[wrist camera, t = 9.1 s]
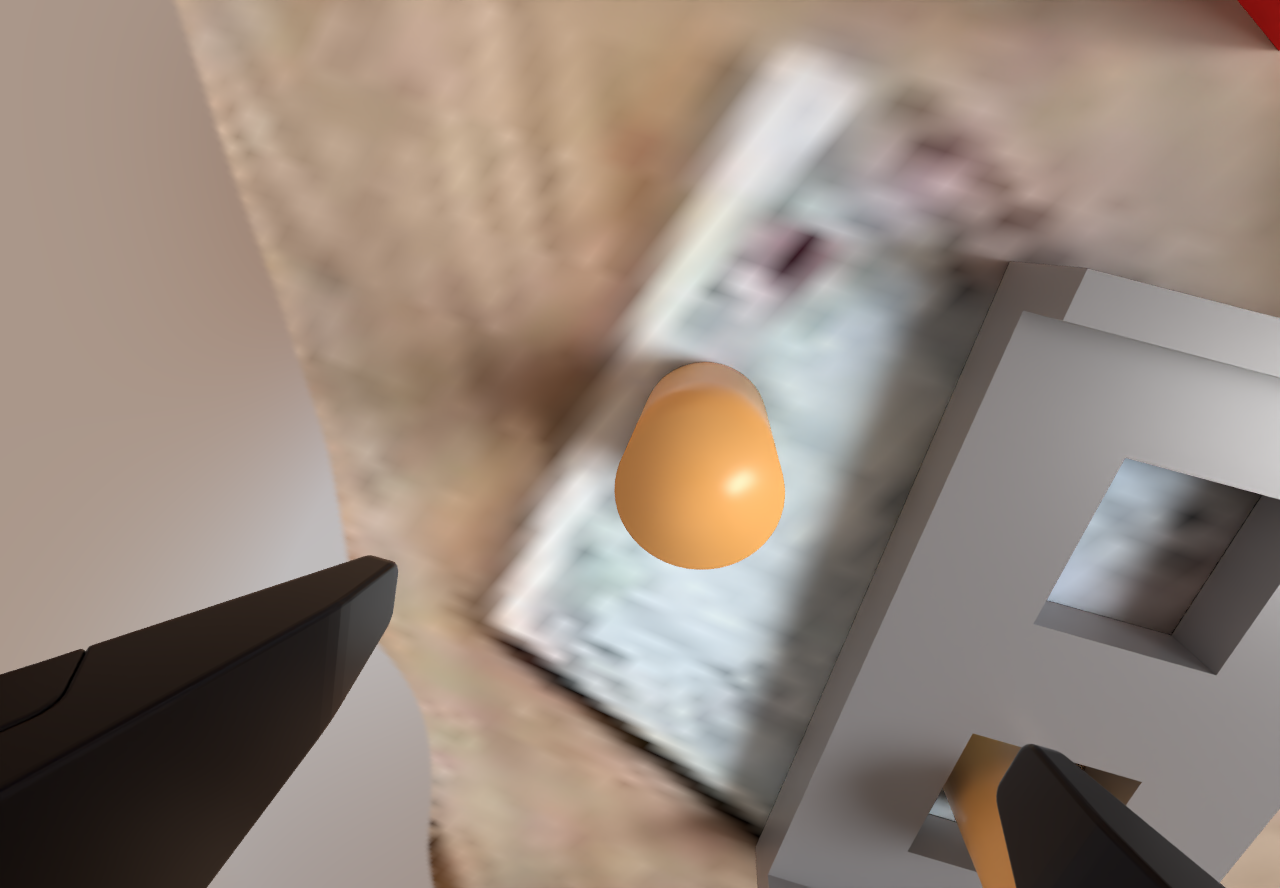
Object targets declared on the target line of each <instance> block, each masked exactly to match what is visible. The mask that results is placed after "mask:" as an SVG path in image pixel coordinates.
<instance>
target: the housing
mask: <svg viewBox="0 0 1280 888" xmlns="http://www.w3.org/2000/svg"><path fill="white" fill-rule="evenodd" d="M1125 458H1128V459H1132V460H1135V461H1139V462H1143V463H1146V464H1150V465H1154V466H1158V467H1161V468H1165V469H1169V470H1172V471H1176V472H1180V473H1184V474H1187V475H1191V476H1195V477H1198V478H1202V479H1206V480H1209V481H1213V482H1217V483H1221V484H1224V485H1228V486H1232V487H1235V488H1239V489H1243V490H1247V491H1250V492H1254V493H1258V494H1261V495H1262V496H1261V498H1260V499H1259V501H1258V502H1257V504H1256V506H1255V507H1254V509H1253V510H1252V512H1251V513H1250V515H1249V516H1248V518H1247V519H1246V521H1245V523H1244V524H1243V526H1242V527H1241V529H1240V530H1239V532H1238V533H1237V535H1236V536H1235V538H1234V539H1233V541H1232V543H1231V544H1230V546H1229V547H1228V549H1227V550H1226V552H1225V553H1224V555H1223V556H1222V558H1221V560H1220V561H1219V563H1218V564H1217V566H1216V567H1215V569H1214V570H1213V572H1212V573H1211V575H1210V577H1209V578H1208V580H1207V581H1206V583H1205V584H1204V586H1203V587H1202V589H1201V590H1200V592H1199V593H1198V595H1197V597H1196V598H1195V600H1194V601H1193V603H1192V604H1191V606H1190V607H1189V609H1188V610H1187V612H1186V614H1185V615H1184V617H1183V618H1182V620H1181V621H1180V623H1179V624H1178V626H1177V627H1176V629H1175V630H1174V632H1173V634H1172V635H1168V634H1165V633H1161V632H1157V631H1154V630H1150V629H1147V628H1143V627H1139V626H1136V625H1132V624H1129V623H1125V622H1121V621H1118V620H1114V619H1111V618H1107V617H1104V616H1100V615H1096V614H1093V613H1089V612H1086V611H1082V610H1078V609H1075V608H1071V607H1068V606H1064V605H1061V604H1057V603H1053V602H1050V601H1046V600H1047V598H1048V597H1049V595H1050V593H1051V591H1052V589H1053V588H1054V586H1055V584H1056V582H1057V580H1058V579H1059V577H1060V575H1061V573H1062V571H1063V569H1064V568H1065V566H1066V564H1067V562H1068V560H1069V559H1070V557H1071V555H1072V553H1073V551H1074V550H1075V548H1076V546H1077V544H1078V542H1079V541H1080V539H1081V537H1082V535H1083V533H1084V531H1085V530H1086V528H1087V526H1088V524H1089V522H1090V521H1091V519H1092V517H1093V515H1094V513H1095V512H1096V510H1097V508H1098V506H1099V504H1100V503H1101V501H1102V499H1103V497H1104V495H1105V494H1106V492H1107V490H1108V488H1109V486H1110V484H1111V483H1112V481H1113V479H1114V477H1115V475H1116V474H1117V472H1118V470H1119V468H1120V466H1121V465H1122V463H1123V461H1124V459H1125ZM972 734H977V735H980V736H984V737H987V738H991V739H994V740H998V741H1001V742H1005V743H1008V744H1012V745H1015V746H1019V747H1023V746H1025V745H1026V744H1036V745H1039V746H1043V747H1046V748H1050V749H1053V750H1057V751H1059V752H1061V753H1062V754H1064V755H1065V756H1066V757H1068V758H1069V759H1070V760H1071V761H1072V762H1074V763H1078V764H1081V765H1085V766H1086V768H1085V769H1084V771H1085V772H1086V773H1087V774H1088V775H1089V776H1091V777H1092V778H1093V779H1094V780H1095V781H1097V782H1098V783H1099V784H1100V785H1102V786H1103V787H1104V788H1105V789H1106V790H1108V791H1109V792H1110V793H1111V794H1112V795H1114V796H1115V797H1116V798H1117V799H1119V800H1120V801H1121V802H1122V803H1123V804H1125V805H1126V806H1127V807H1128V808H1129V809H1131V810H1132V811H1133V812H1134V813H1135V814H1137V815H1138V816H1139V817H1140V818H1142V819H1143V820H1144V821H1145V822H1146V823H1148V824H1149V825H1150V826H1151V827H1152V828H1154V829H1155V830H1156V831H1157V832H1159V833H1160V834H1161V835H1162V836H1163V837H1165V838H1166V839H1167V840H1168V841H1169V842H1171V843H1172V844H1173V845H1174V846H1176V847H1177V848H1178V849H1179V850H1180V851H1182V852H1183V853H1184V854H1185V855H1186V856H1188V857H1189V858H1190V859H1191V860H1193V861H1194V862H1195V863H1196V864H1197V865H1199V866H1200V867H1201V868H1202V869H1203V870H1205V871H1206V872H1207V873H1208V874H1210V875H1211V876H1212V877H1213V878H1214V879H1216V880H1217V881H1218V882H1219V883H1220V881H1221V880H1222V879H1223V878H1224V876H1225V875H1226V874H1227V873H1228V872H1229V870H1230V869H1231V868H1232V867H1233V865H1234V864H1235V863H1236V862H1237V860H1238V859H1239V858H1240V857H1241V856H1242V854H1243V853H1244V852H1245V851H1246V849H1247V848H1248V847H1249V846H1250V845H1251V843H1252V842H1253V841H1254V840H1255V838H1256V837H1257V836H1258V835H1259V833H1260V832H1261V831H1262V830H1263V829H1264V827H1265V826H1266V825H1267V824H1268V822H1269V821H1270V820H1271V819H1272V817H1273V816H1274V815H1275V814H1276V813H1277V811H1278V810H1279V809H1280V318H1277V317H1274V316H1270V315H1266V314H1262V313H1258V312H1254V311H1250V310H1247V309H1243V308H1239V307H1235V306H1231V305H1227V304H1224V303H1220V302H1216V301H1212V300H1208V299H1204V298H1200V297H1197V296H1193V295H1189V294H1185V293H1181V292H1177V291H1173V290H1170V289H1166V288H1162V287H1158V286H1154V285H1150V284H1146V283H1143V282H1139V281H1135V280H1131V279H1127V278H1123V277H1119V276H1116V275H1112V274H1108V273H1104V272H1100V271H1096V270H1093V269H1089V268H1079V267H1068V266H1057V265H1046V264H1034V263H1023V262H1012V261H1010V262H1009V265H1008V267H1007V269H1006V271H1005V274H1004V276H1003V278H1002V281H1001V283H1000V285H999V288H998V290H997V292H996V295H995V297H994V299H993V301H992V304H991V306H990V308H989V311H988V313H987V315H986V318H985V320H984V322H983V324H982V327H981V329H980V331H979V334H978V336H977V338H976V341H975V343H974V345H973V348H972V350H971V352H970V354H969V357H968V359H967V361H966V364H965V366H964V368H963V371H962V373H961V375H960V377H959V380H958V382H957V384H956V387H955V389H954V391H953V394H952V396H951V398H950V400H949V403H948V405H947V407H946V410H945V412H944V414H943V417H942V419H941V421H940V424H939V426H938V428H937V430H936V433H935V435H934V437H933V440H932V442H931V444H930V447H929V449H928V451H927V453H926V456H925V458H924V460H923V463H922V465H921V467H920V470H919V472H918V474H917V477H916V479H915V481H914V483H913V486H912V488H911V490H910V493H909V495H908V497H907V500H906V502H905V504H904V506H903V509H902V511H901V513H900V516H899V518H898V520H897V523H896V525H895V527H894V530H893V532H892V534H891V536H890V539H889V541H888V543H887V546H886V548H885V550H884V553H883V555H882V557H881V559H880V562H879V564H878V566H877V569H876V571H875V573H874V576H873V578H872V580H871V583H870V585H869V587H868V589H867V592H866V594H865V596H864V599H863V601H862V603H861V606H860V608H859V610H858V612H857V615H856V617H855V619H854V622H853V624H852V626H851V629H850V631H849V633H848V635H847V638H846V640H845V642H844V645H843V647H842V649H841V652H840V654H839V656H838V659H837V661H836V663H835V665H834V668H833V670H832V672H831V675H830V677H829V679H828V682H827V684H826V686H825V688H824V691H823V693H822V695H821V698H820V700H819V702H818V705H817V707H816V709H815V712H814V714H813V716H812V718H811V721H810V723H809V725H808V728H807V730H806V732H805V735H804V737H803V739H802V741H801V744H800V746H799V748H798V751H797V753H796V755H795V758H794V760H793V762H792V765H791V767H790V769H789V771H788V774H787V776H786V778H785V781H784V783H783V785H782V788H781V790H780V792H779V794H778V797H777V799H776V801H775V804H774V806H773V808H772V811H771V813H770V815H769V817H768V820H767V822H766V824H765V827H764V829H763V831H762V834H761V836H760V838H759V841H758V843H757V845H756V847H755V850H756V867H757V885H758V888H983V887H982V884H981V882H980V879H979V877H978V874H977V872H976V869H975V867H974V864H973V862H972V859H971V857H970V854H969V852H968V849H967V847H966V844H965V842H964V839H963V837H962V834H961V832H960V829H959V827H958V825H957V822H953V821H950V820H947V819H943V818H940V817H936V816H933V815H930V814H929V812H930V810H931V808H932V806H933V805H934V803H935V801H936V799H937V797H938V796H939V794H940V792H941V790H942V788H943V786H944V785H945V783H946V781H947V779H948V777H949V776H950V774H951V772H952V770H953V768H954V767H955V765H956V763H957V761H958V759H959V758H960V756H961V754H962V752H963V750H964V748H965V747H966V745H967V743H968V741H969V739H970V738H971V736H972Z"/></svg>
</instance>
